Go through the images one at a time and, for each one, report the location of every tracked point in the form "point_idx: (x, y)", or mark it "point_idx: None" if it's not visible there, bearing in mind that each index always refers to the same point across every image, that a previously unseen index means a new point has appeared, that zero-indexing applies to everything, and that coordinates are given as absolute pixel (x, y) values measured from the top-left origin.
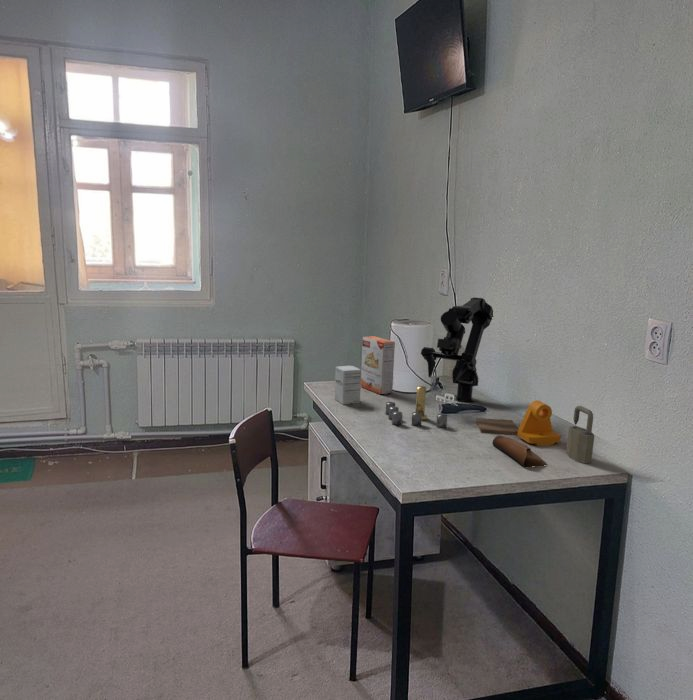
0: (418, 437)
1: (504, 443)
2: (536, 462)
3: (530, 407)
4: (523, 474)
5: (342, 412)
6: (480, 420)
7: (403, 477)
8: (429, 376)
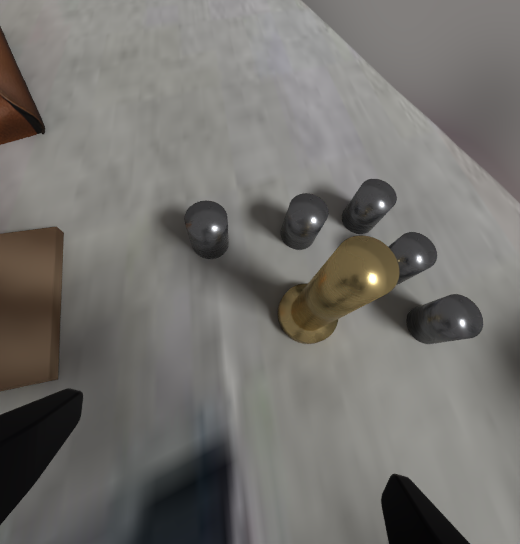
0: (266, 136)
1: (5, 67)
2: None
3: None
4: (15, 7)
5: None
6: (33, 346)
7: None
8: (394, 474)
